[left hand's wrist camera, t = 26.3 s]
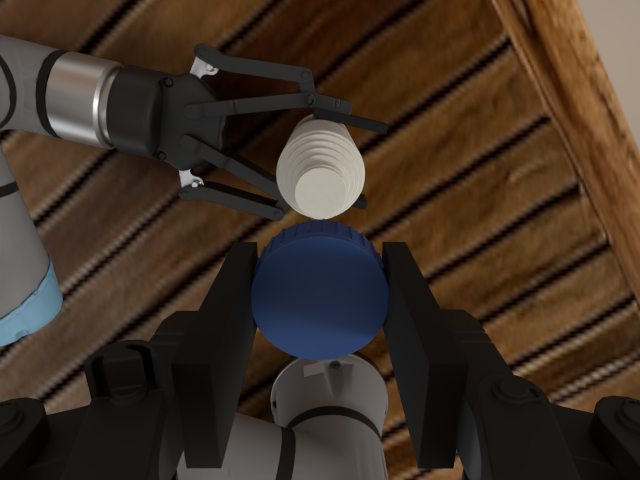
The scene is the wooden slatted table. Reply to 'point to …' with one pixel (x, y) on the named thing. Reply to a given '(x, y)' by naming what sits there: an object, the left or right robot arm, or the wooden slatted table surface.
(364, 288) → the cap
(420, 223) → the wooden slatted table surface
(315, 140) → the bottle
